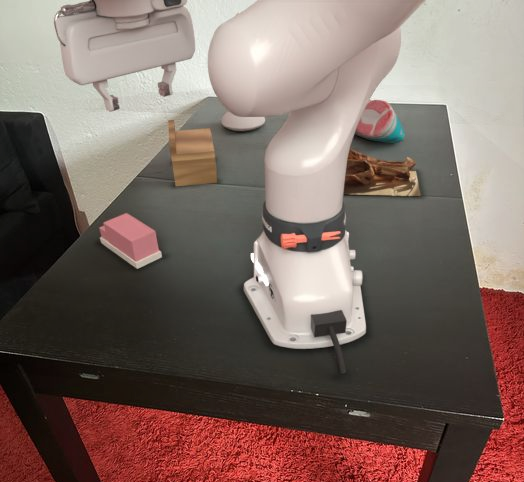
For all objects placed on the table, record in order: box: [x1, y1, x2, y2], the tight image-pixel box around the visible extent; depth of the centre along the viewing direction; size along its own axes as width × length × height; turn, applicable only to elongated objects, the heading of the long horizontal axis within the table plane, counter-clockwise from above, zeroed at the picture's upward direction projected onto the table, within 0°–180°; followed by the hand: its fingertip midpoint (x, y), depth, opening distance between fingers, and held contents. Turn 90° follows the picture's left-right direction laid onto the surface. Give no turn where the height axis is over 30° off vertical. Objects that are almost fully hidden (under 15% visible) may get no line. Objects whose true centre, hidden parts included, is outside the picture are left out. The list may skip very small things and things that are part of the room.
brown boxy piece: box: [167, 119, 218, 187], centre depth 114 cm, size 13×9×9 cm
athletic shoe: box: [354, 99, 406, 144], centre depth 130 cm, size 27×9×12 cm
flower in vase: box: [220, 12, 266, 132], centre depth 129 cm, size 13×11×25 cm
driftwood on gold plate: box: [343, 148, 422, 197], centre depth 110 cm, size 14×7×28 cm
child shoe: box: [98, 212, 163, 270], centre depth 93 cm, size 12×5×5 cm, turn 43°
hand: (140, 102), depth 81 cm, fingers open, 8 cm apart
